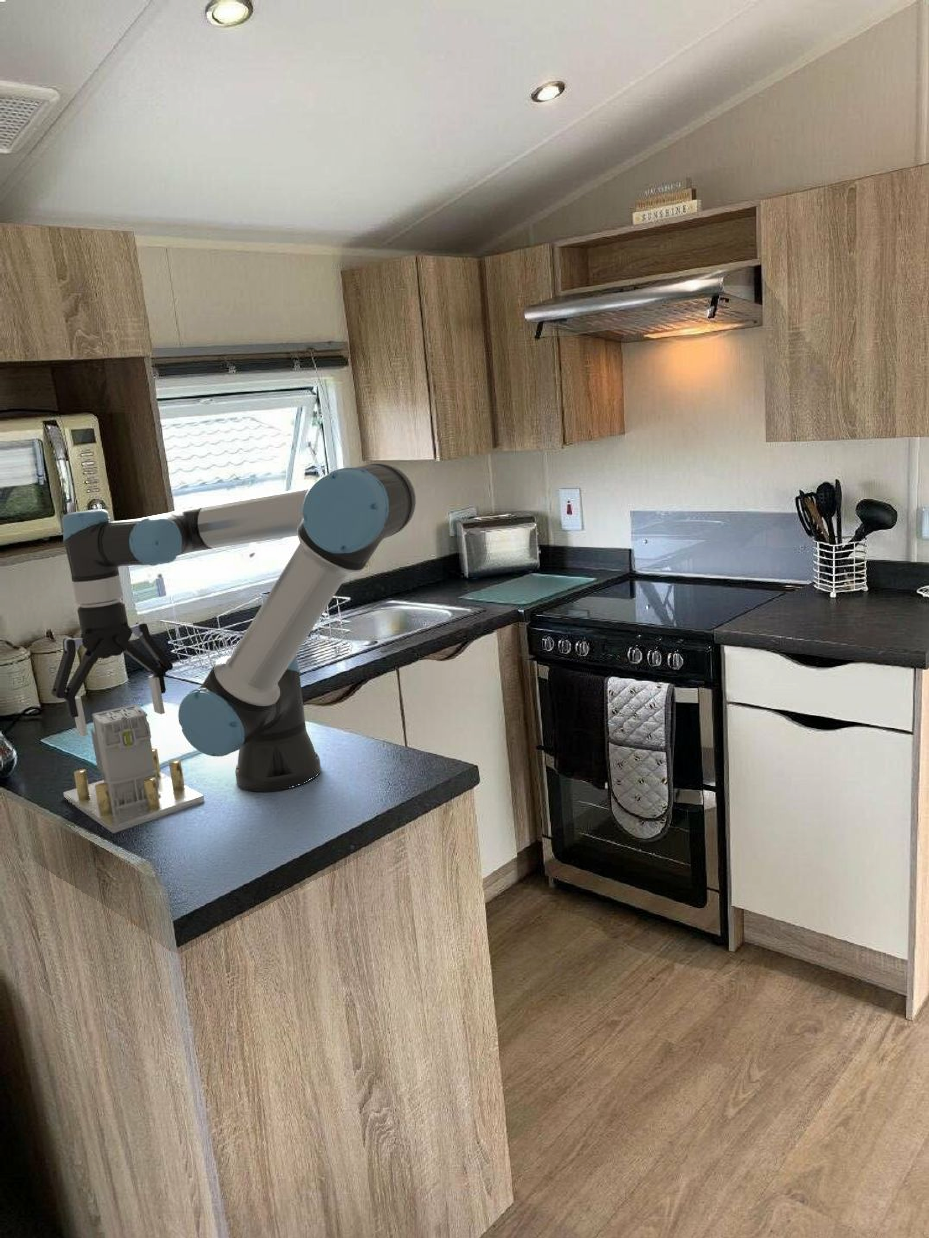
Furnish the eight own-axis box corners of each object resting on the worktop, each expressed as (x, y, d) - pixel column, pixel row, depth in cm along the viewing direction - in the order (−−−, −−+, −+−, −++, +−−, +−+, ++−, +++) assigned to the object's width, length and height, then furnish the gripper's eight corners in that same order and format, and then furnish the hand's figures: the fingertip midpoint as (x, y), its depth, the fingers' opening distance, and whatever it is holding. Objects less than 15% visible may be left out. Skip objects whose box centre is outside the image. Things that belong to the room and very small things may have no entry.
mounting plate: (204, 801, 166) (199, 767, 165) (113, 833, 156) (106, 797, 155) (149, 771, 183) (144, 740, 182) (64, 798, 173) (58, 765, 172)
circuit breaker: (141, 774, 179) (128, 696, 176) (160, 796, 167) (147, 714, 164) (99, 785, 175) (85, 706, 172) (116, 809, 163) (101, 724, 160)
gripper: (161, 587, 173) (180, 700, 177) (16, 616, 157) (40, 739, 162) (179, 590, 167) (198, 707, 171) (30, 620, 152) (55, 748, 156)
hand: (122, 723), depth 166 cm, fingers open, 13 cm apart
